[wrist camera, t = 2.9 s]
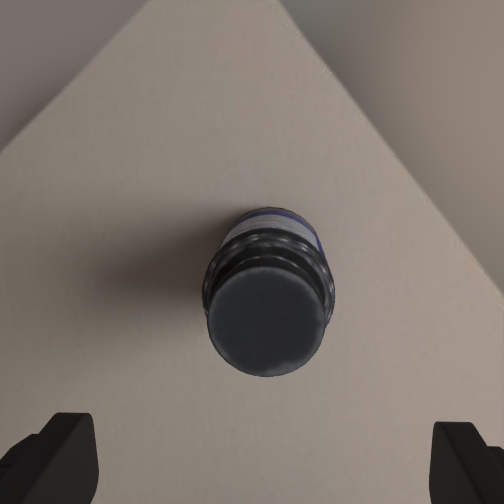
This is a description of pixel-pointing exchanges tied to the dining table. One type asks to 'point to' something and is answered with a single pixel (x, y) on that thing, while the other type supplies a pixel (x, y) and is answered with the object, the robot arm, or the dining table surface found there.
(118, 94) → the dining table surface
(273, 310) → the pill bottle
